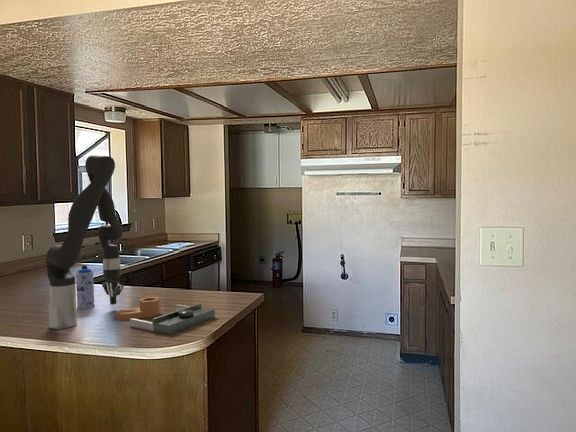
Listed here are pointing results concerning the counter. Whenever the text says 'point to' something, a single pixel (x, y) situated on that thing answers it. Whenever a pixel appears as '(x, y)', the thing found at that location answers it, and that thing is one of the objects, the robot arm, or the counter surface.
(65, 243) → the robot arm
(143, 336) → the counter surface
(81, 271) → the aerosol can
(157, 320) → the deck mount
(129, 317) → the bracket
